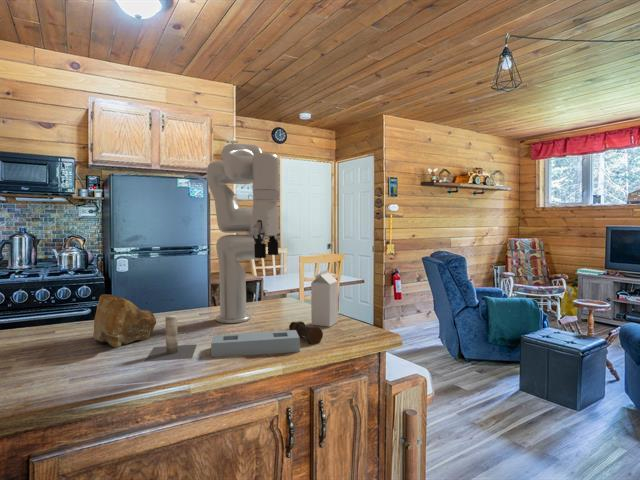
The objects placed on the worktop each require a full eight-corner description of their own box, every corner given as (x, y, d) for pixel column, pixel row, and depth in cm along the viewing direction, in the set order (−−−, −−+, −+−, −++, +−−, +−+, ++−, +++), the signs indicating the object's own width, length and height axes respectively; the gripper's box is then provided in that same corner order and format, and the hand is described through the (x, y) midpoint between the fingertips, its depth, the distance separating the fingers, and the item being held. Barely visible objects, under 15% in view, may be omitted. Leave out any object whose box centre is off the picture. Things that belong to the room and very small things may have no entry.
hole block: (211, 358, 108) (211, 343, 108) (213, 348, 116) (213, 335, 115) (299, 351, 112) (299, 337, 112) (295, 343, 120) (295, 329, 120)
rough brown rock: (163, 348, 119) (166, 297, 120) (100, 354, 110) (103, 299, 110) (145, 333, 138) (147, 289, 139) (90, 337, 128) (93, 291, 129)
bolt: (295, 337, 133) (317, 347, 120) (283, 331, 131) (304, 341, 118) (302, 320, 135) (325, 329, 122) (290, 315, 132) (313, 323, 119)
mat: (154, 348, 116) (154, 347, 116) (197, 345, 119) (196, 344, 119) (144, 362, 105) (144, 361, 105) (192, 359, 107) (192, 357, 107)
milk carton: (337, 322, 144) (337, 270, 143) (329, 327, 138) (329, 272, 137) (319, 320, 147) (319, 269, 146) (311, 325, 141) (310, 271, 140)
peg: (167, 351, 113) (166, 315, 112) (178, 350, 113) (177, 315, 113) (165, 354, 110) (164, 318, 109) (177, 353, 110) (176, 317, 110)
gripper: (265, 198, 125) (266, 253, 126) (240, 195, 108) (242, 259, 109) (288, 198, 123) (288, 254, 124) (266, 195, 106) (267, 259, 107)
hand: (266, 256), depth 116 cm, fingers open, 9 cm apart
